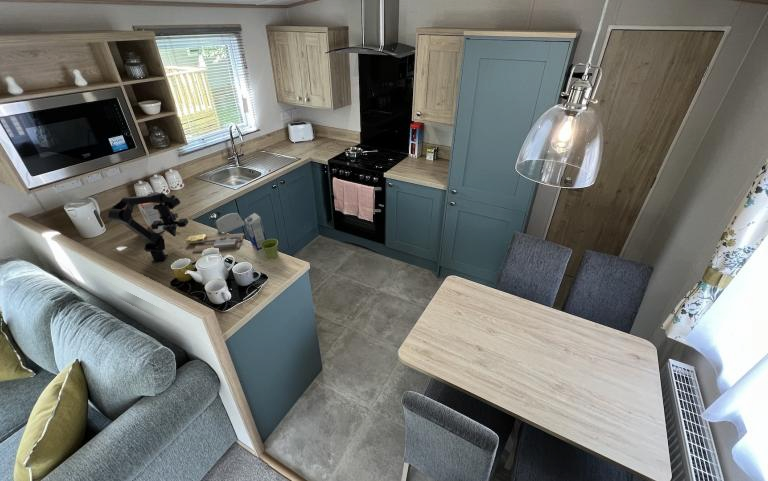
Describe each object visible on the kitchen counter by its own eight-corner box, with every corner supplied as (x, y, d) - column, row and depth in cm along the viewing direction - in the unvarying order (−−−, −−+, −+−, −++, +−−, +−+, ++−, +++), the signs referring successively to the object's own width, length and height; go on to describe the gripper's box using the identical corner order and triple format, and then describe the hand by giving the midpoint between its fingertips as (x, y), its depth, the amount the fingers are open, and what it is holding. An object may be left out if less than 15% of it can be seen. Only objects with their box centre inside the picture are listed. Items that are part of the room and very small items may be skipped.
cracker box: (147, 227, 226) (134, 199, 215) (157, 223, 230) (144, 195, 218) (155, 234, 218) (142, 205, 207) (165, 230, 222) (152, 201, 210)
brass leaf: (204, 242, 206) (202, 238, 205) (186, 243, 205) (185, 240, 204) (207, 237, 211) (205, 233, 210) (190, 238, 210) (188, 235, 209)
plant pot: (284, 255, 195) (281, 242, 190) (269, 263, 189) (266, 250, 184) (275, 249, 200) (271, 236, 196) (260, 256, 194) (257, 244, 190)
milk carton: (267, 245, 204) (260, 216, 193) (257, 250, 200) (249, 220, 189) (262, 241, 208) (254, 212, 197) (251, 245, 204) (243, 216, 193)
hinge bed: (238, 248, 202) (237, 243, 200) (193, 253, 199) (190, 247, 197) (244, 234, 215) (242, 229, 213) (201, 238, 213) (199, 233, 211)
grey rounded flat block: (221, 234, 216) (214, 220, 213) (218, 234, 219) (211, 220, 216) (245, 224, 226) (239, 210, 223) (242, 224, 229) (236, 210, 226)
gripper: (187, 205, 204) (195, 227, 212) (154, 208, 202) (164, 230, 210) (180, 214, 194) (189, 237, 203) (145, 217, 193) (156, 240, 201)
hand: (175, 236), depth 204 cm, fingers closed
